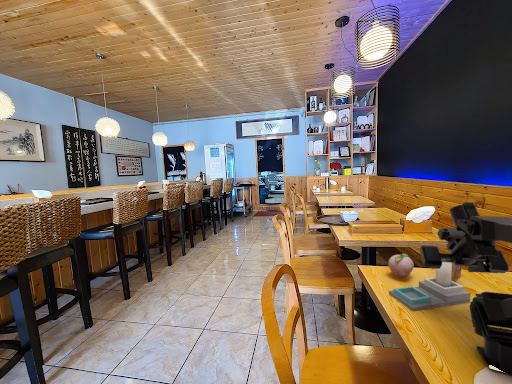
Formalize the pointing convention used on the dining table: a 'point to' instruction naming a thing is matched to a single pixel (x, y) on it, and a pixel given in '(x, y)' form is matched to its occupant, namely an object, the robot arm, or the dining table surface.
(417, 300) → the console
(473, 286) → the dining table surface
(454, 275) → the tin
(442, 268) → the white rounded cylinder
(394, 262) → the decorative fruit
